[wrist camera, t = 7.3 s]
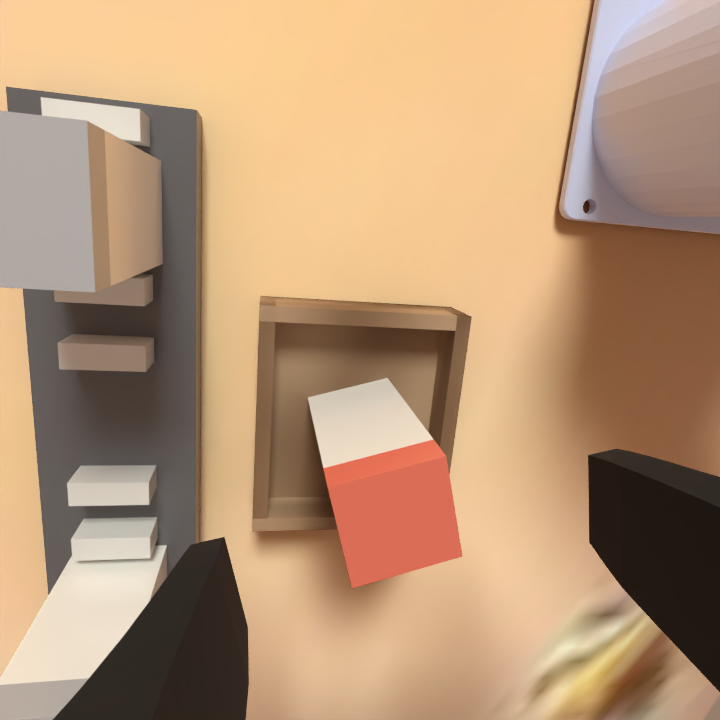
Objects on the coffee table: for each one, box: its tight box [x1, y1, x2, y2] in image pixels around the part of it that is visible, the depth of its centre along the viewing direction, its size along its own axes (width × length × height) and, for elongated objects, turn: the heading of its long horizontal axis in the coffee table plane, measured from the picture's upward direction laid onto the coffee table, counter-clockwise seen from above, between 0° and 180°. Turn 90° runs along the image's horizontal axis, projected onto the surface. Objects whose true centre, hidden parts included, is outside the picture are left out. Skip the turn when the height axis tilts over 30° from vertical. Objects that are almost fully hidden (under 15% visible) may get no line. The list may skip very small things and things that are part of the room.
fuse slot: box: [0, 545, 167, 720], centre depth 15 cm, size 3×3×6 cm
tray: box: [252, 296, 471, 531], centre depth 18 cm, size 7×8×2 cm
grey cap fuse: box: [0, 111, 163, 293], centre depth 12 cm, size 3×3×6 cm
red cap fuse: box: [308, 378, 462, 588], centre depth 16 cm, size 3×3×6 cm
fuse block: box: [6, 87, 202, 594], centre depth 17 cm, size 5×19×2 cm, turn 176°
